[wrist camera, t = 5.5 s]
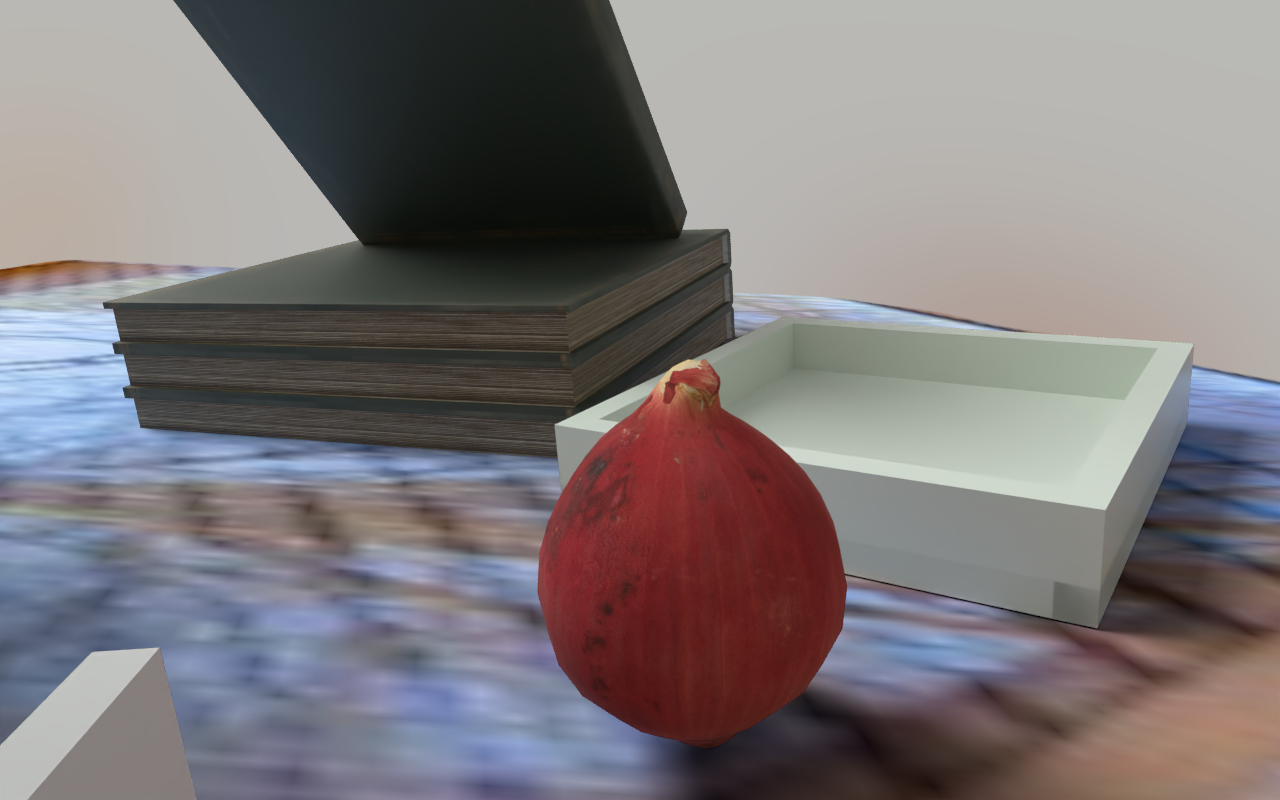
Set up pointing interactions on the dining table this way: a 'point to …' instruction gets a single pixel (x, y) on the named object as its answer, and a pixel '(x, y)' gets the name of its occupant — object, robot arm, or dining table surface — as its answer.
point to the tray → (957, 449)
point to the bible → (439, 234)
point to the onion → (690, 569)
